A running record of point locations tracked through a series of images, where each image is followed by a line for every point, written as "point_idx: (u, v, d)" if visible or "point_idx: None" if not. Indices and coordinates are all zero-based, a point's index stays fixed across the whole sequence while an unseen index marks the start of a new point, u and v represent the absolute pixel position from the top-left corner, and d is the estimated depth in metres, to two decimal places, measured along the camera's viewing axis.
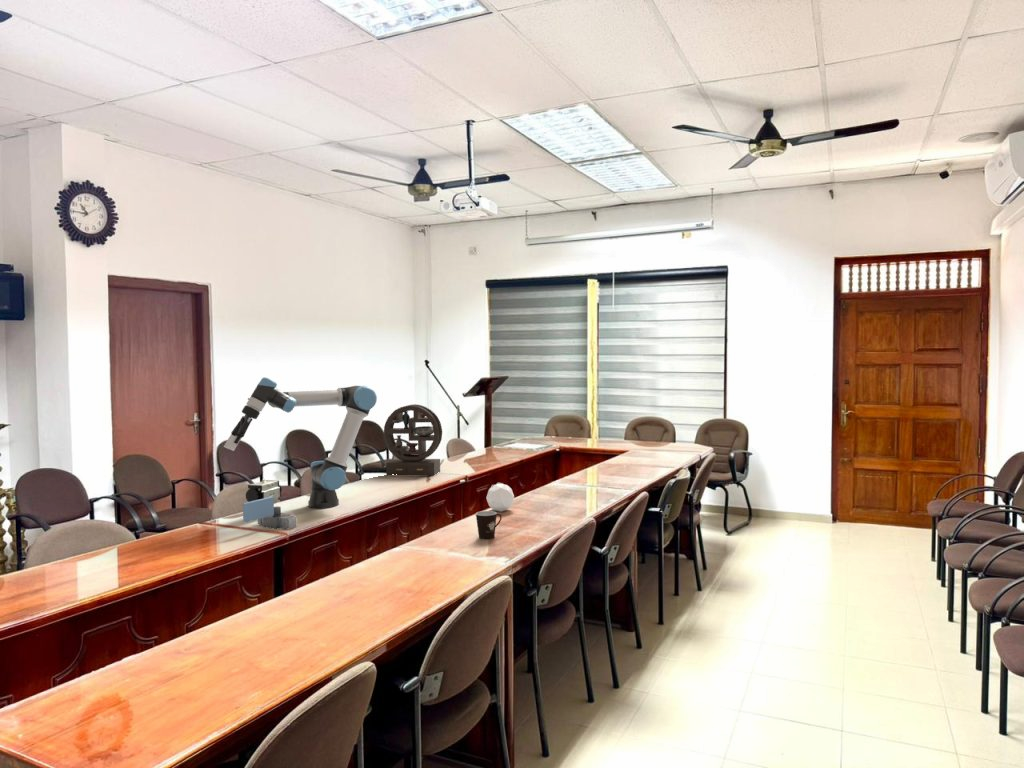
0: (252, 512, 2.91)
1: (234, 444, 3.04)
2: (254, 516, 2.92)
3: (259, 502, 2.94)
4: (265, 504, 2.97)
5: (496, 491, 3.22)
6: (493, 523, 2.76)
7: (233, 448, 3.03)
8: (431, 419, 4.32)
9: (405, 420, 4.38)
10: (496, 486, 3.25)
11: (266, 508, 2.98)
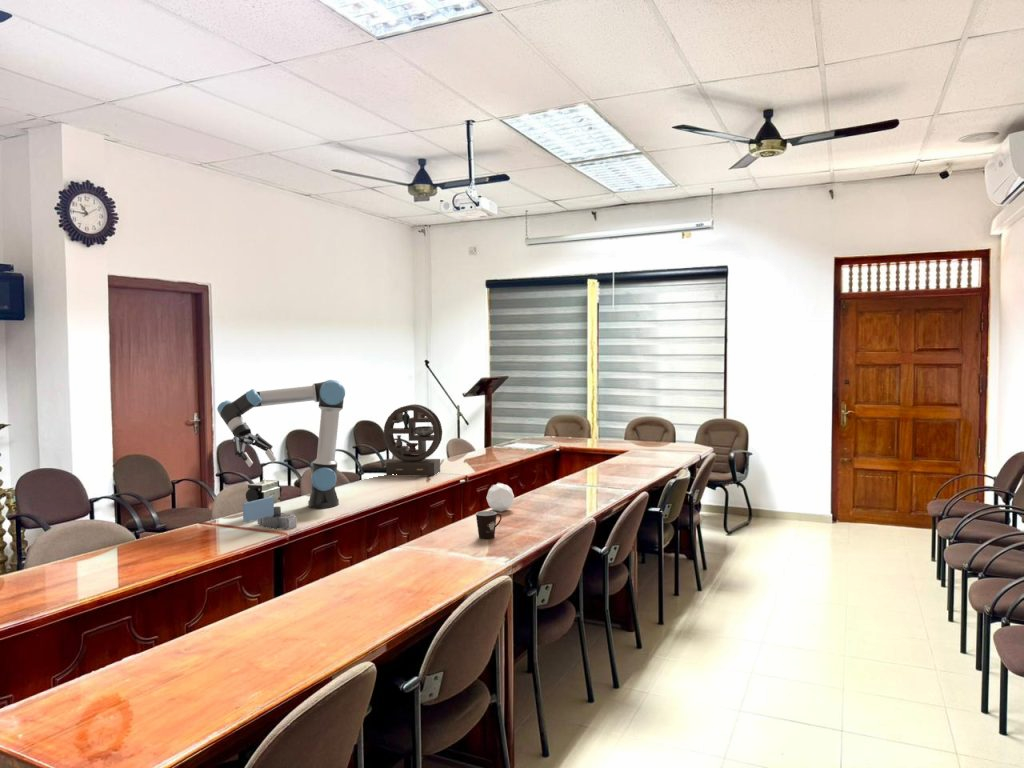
0: (252, 512, 2.91)
1: (247, 460, 3.05)
2: (254, 516, 2.92)
3: (259, 502, 2.94)
4: (265, 504, 2.97)
5: (496, 491, 3.22)
6: (493, 523, 2.76)
7: (249, 462, 3.04)
8: (431, 419, 4.32)
9: (405, 420, 4.38)
10: (496, 486, 3.25)
11: (266, 508, 2.98)
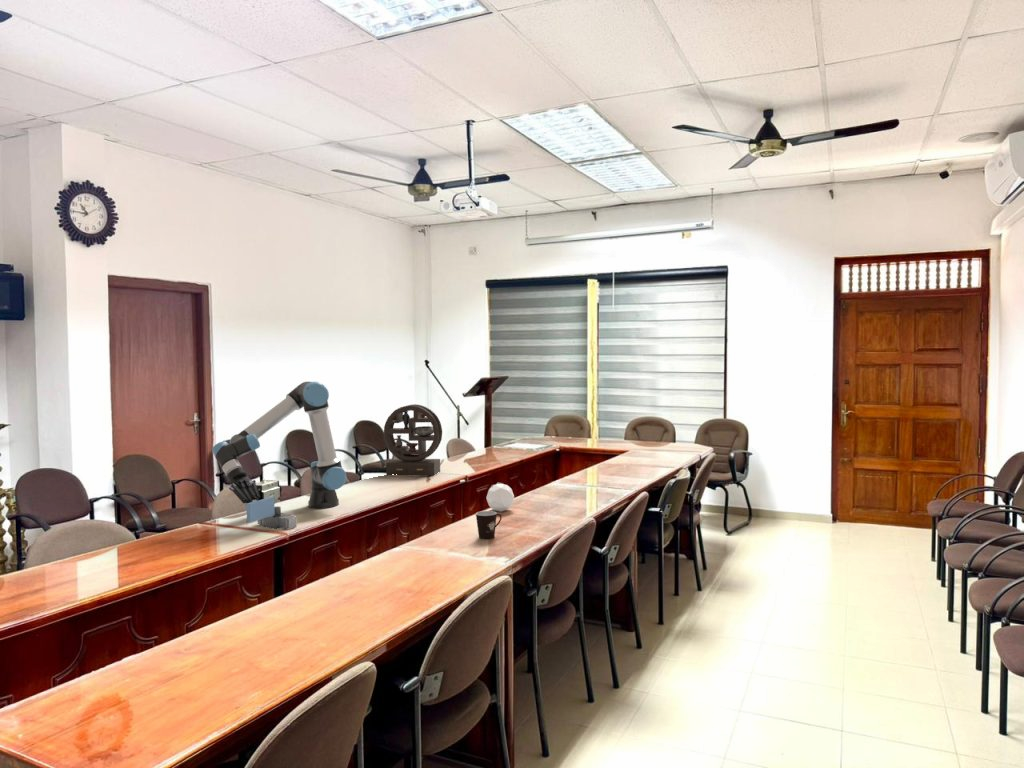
0: (255, 512, 2.90)
1: None
2: (257, 516, 2.91)
3: (261, 502, 2.94)
4: (267, 504, 2.97)
5: (496, 491, 3.22)
6: (493, 523, 2.76)
7: None
8: (431, 419, 4.32)
9: (405, 420, 4.38)
10: (496, 486, 3.25)
11: (268, 508, 2.97)
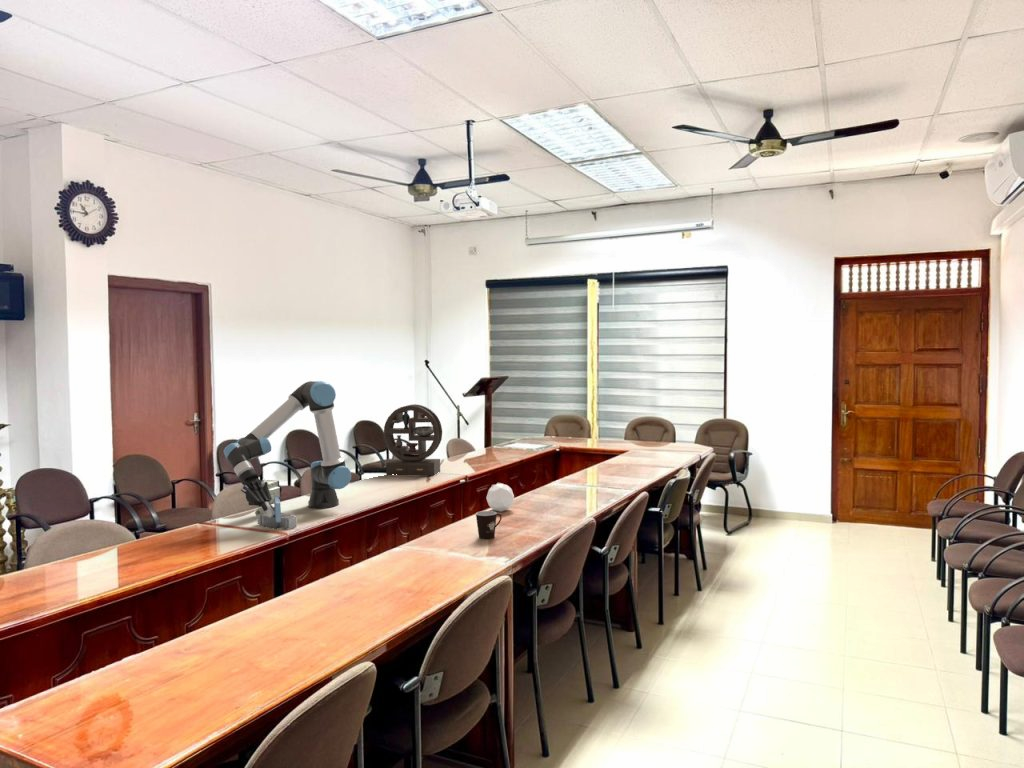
0: None
1: (267, 510, 2.93)
2: None
3: None
4: None
5: (496, 491, 3.22)
6: (493, 523, 2.76)
7: (270, 513, 2.93)
8: (431, 419, 4.32)
9: (405, 420, 4.38)
10: (496, 486, 3.25)
11: None
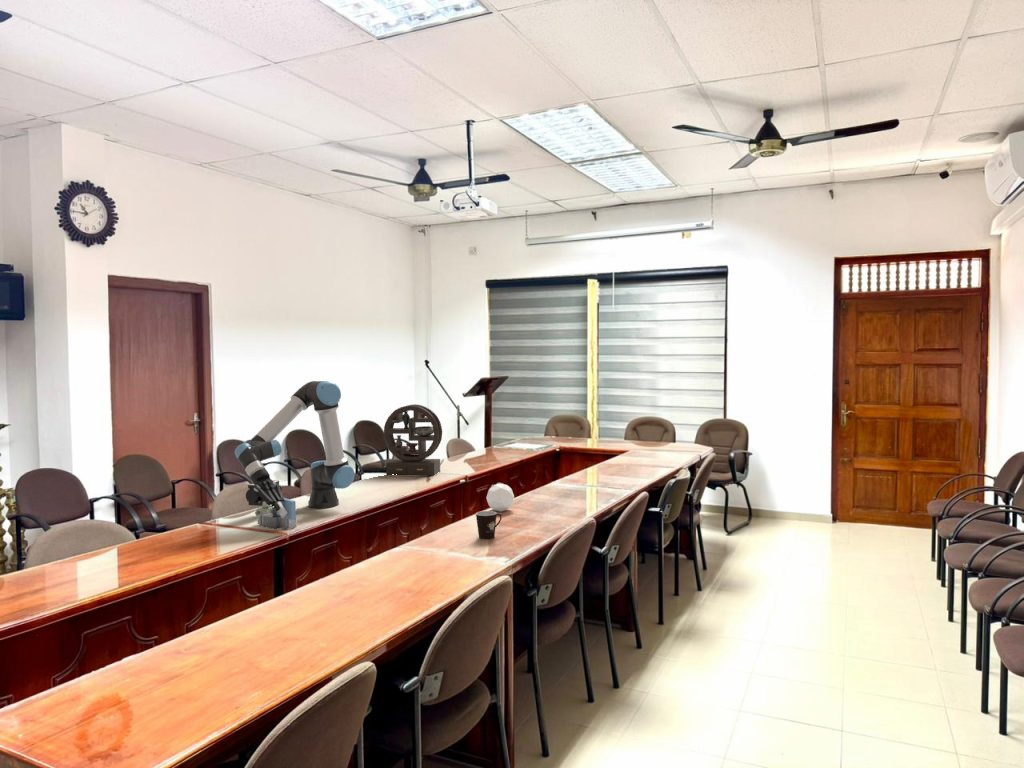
0: None
1: (280, 510, 2.91)
2: None
3: None
4: None
5: (496, 491, 3.22)
6: (493, 523, 2.76)
7: (283, 512, 2.90)
8: (431, 419, 4.32)
9: (405, 420, 4.38)
10: (496, 486, 3.25)
11: None
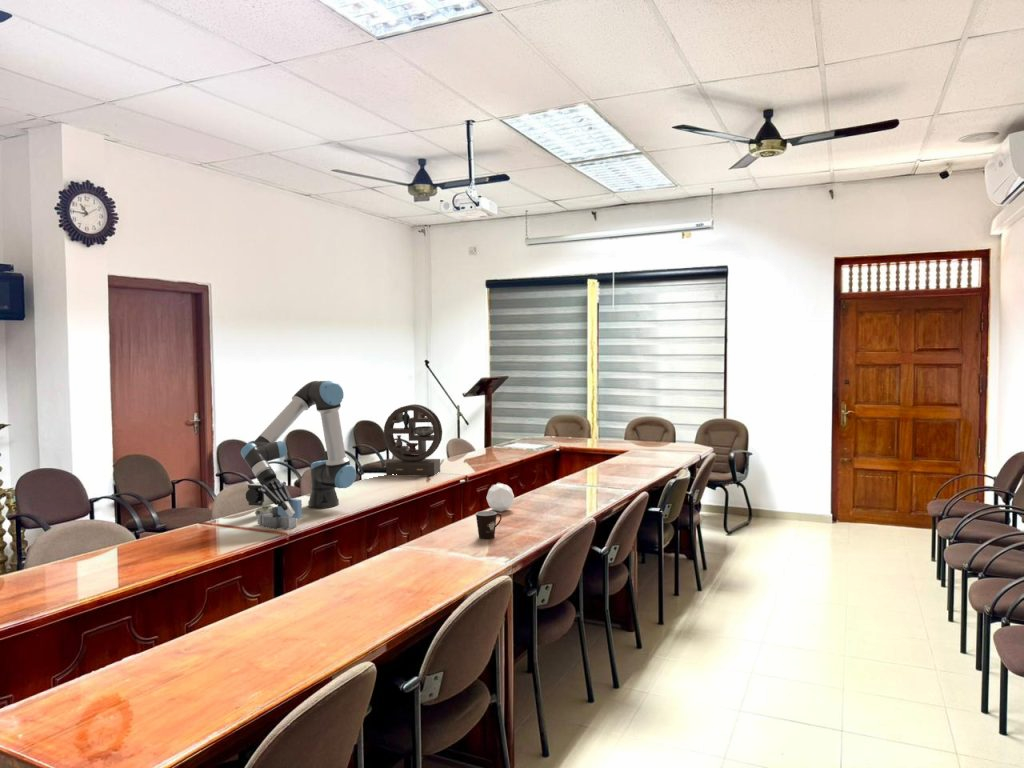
0: None
1: (287, 509, 2.90)
2: None
3: None
4: None
5: (496, 491, 3.22)
6: (493, 523, 2.76)
7: (290, 512, 2.90)
8: (431, 419, 4.32)
9: (405, 420, 4.38)
10: (496, 486, 3.25)
11: None
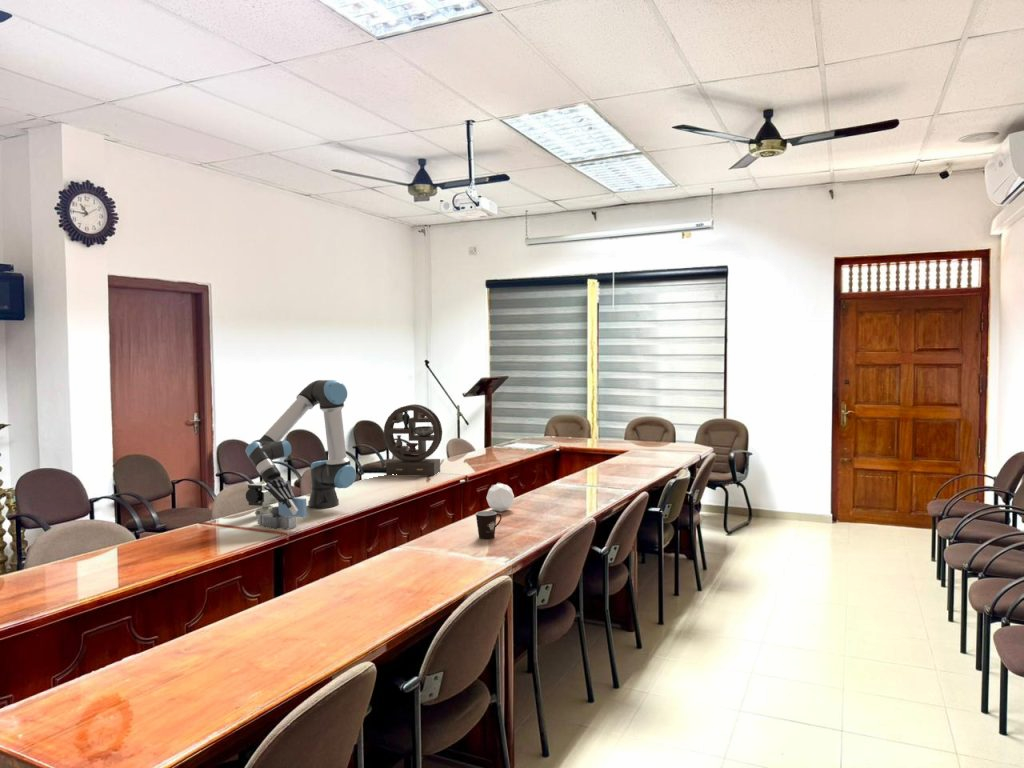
0: None
1: (291, 507, 2.92)
2: None
3: None
4: None
5: (496, 491, 3.22)
6: (493, 523, 2.76)
7: (294, 510, 2.91)
8: (431, 419, 4.32)
9: (405, 420, 4.38)
10: (496, 486, 3.25)
11: None
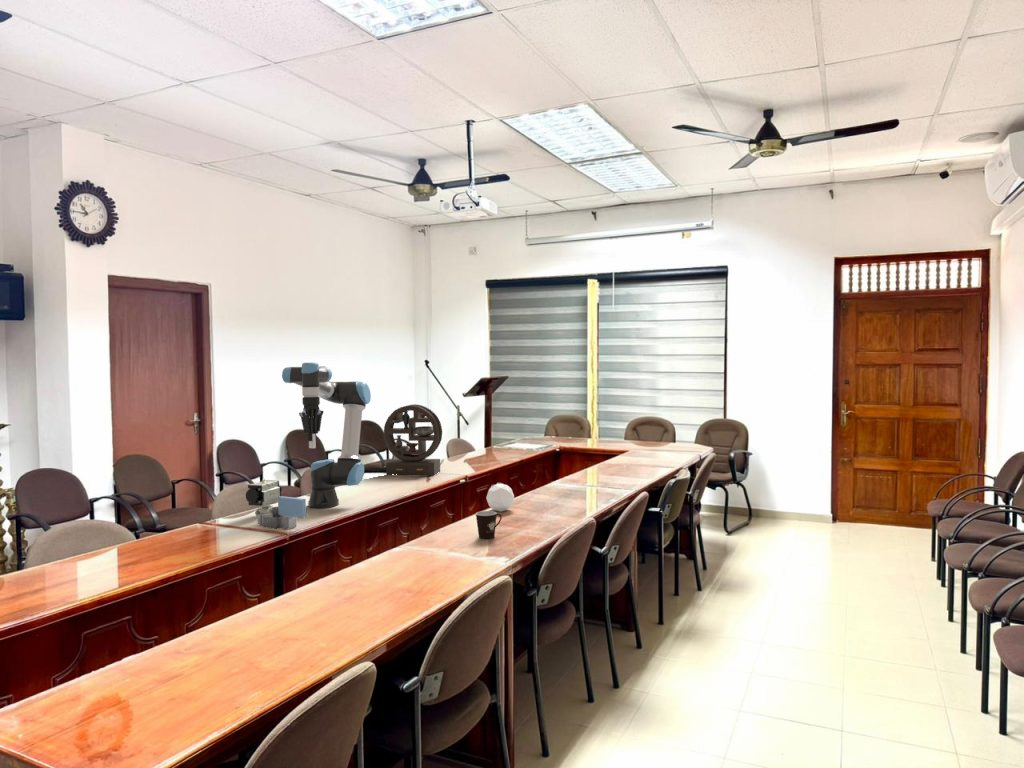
0: None
1: (311, 442, 3.07)
2: None
3: None
4: None
5: (496, 491, 3.22)
6: (493, 523, 2.76)
7: (312, 446, 3.07)
8: (431, 419, 4.32)
9: (405, 420, 4.38)
10: (496, 486, 3.25)
11: None
